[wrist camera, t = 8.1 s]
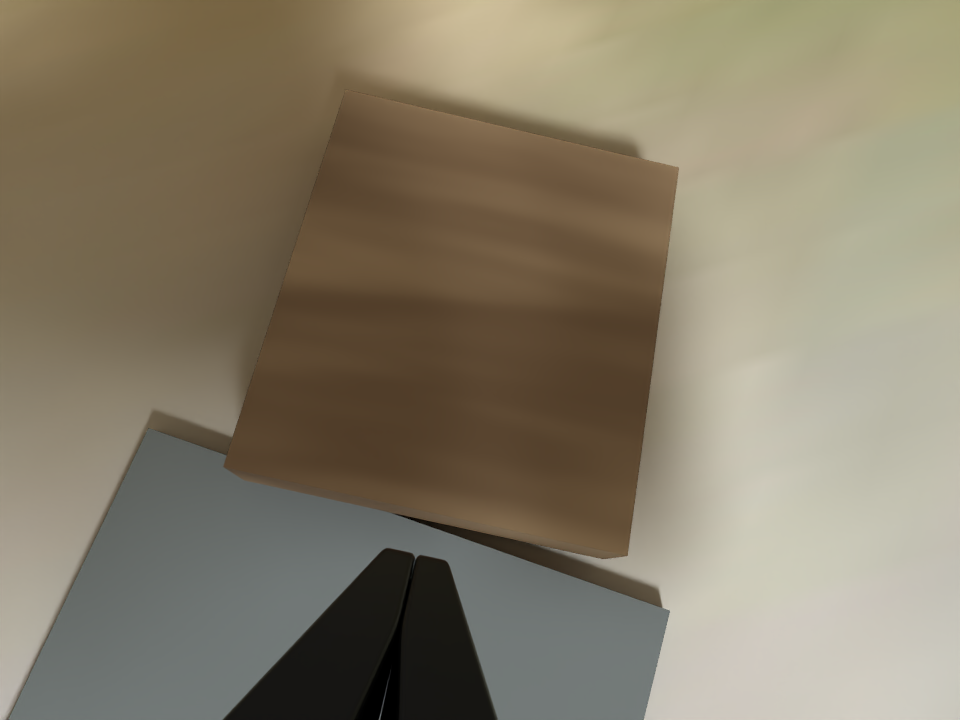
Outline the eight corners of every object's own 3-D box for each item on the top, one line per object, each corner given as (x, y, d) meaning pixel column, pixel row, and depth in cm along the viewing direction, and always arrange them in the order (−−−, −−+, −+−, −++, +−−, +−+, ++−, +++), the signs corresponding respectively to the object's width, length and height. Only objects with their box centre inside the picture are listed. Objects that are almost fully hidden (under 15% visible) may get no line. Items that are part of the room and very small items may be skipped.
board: (627, 555, 14) (678, 167, 17) (222, 466, 13) (345, 89, 16) (603, 559, 15) (653, 206, 18) (243, 480, 15) (351, 136, 18)
